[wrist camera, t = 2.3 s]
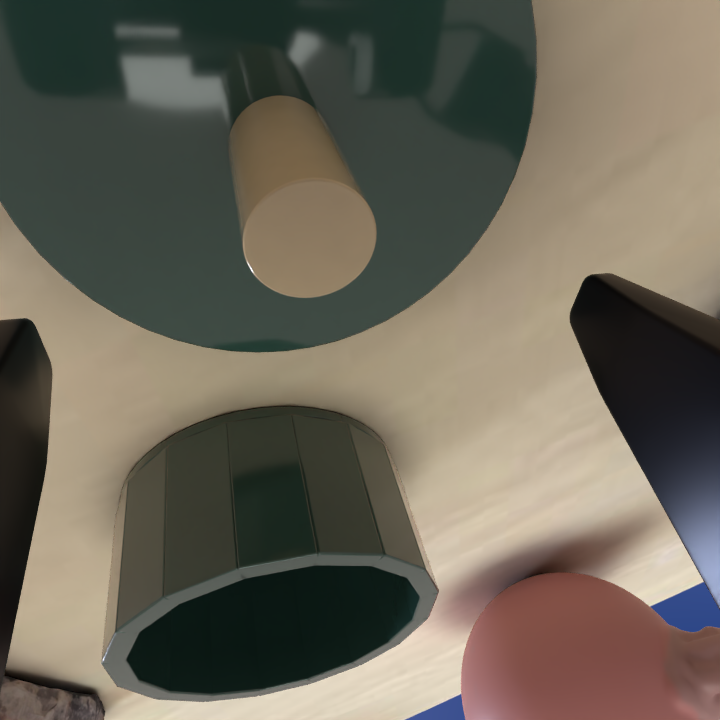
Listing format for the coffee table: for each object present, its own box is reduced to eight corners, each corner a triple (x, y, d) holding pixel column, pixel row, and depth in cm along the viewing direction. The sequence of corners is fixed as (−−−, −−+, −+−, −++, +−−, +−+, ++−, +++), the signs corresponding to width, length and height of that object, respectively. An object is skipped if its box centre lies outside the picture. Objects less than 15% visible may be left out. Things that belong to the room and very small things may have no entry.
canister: (409, 389, 23) (466, 526, 18) (378, 540, 31) (412, 660, 27) (85, 428, 20) (56, 602, 15) (149, 582, 28) (143, 724, 24)
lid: (593, -203, 11) (820, -229, 7) (460, 313, 20) (528, 427, 16) (-186, -318, 8) (-530, -469, 4) (70, 348, 17) (36, 499, 13)
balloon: (696, 534, 43) (869, 765, 32) (487, 639, 49) (574, 864, 38) (646, 469, 33) (872, 772, 22) (392, 611, 39) (473, 905, 28)
